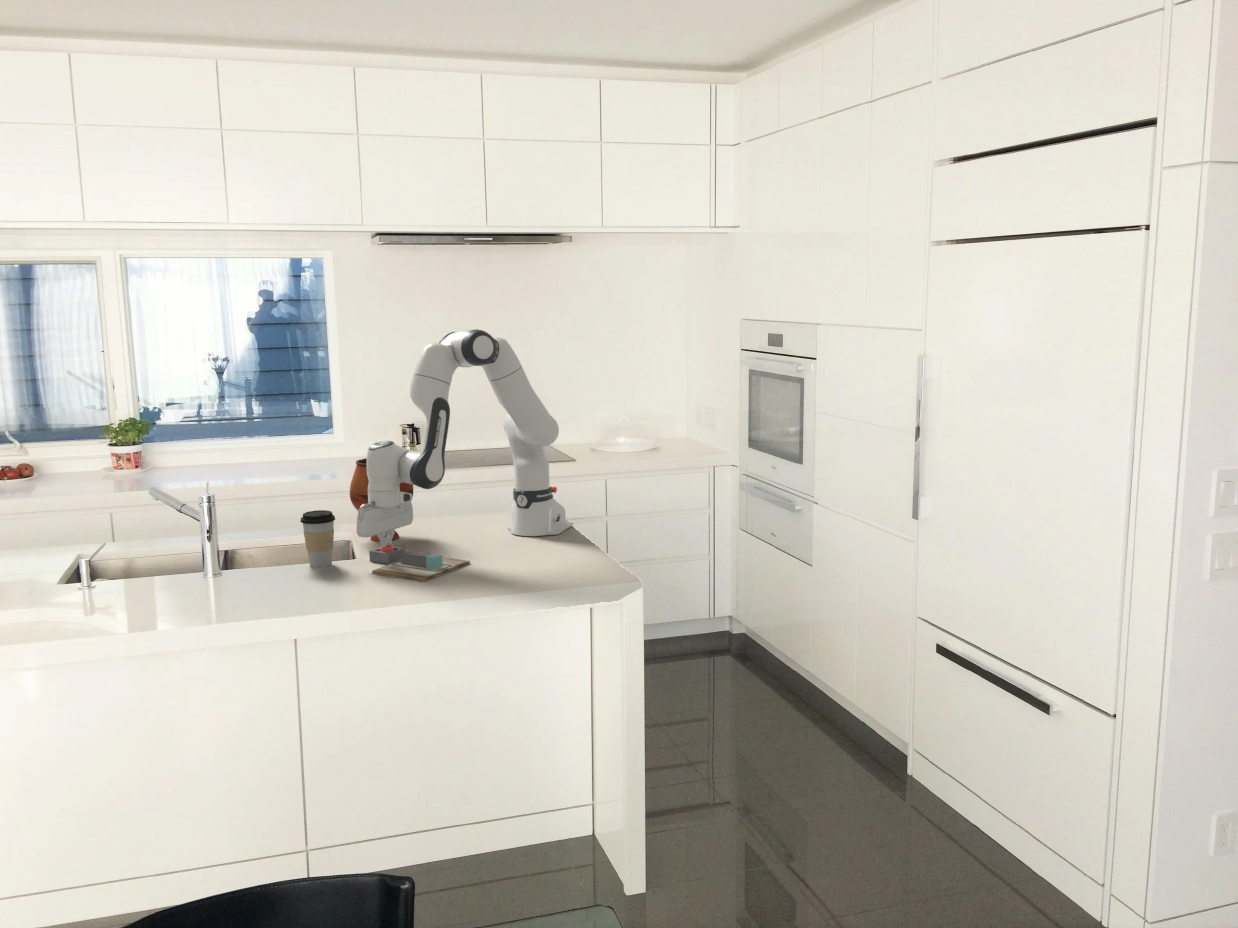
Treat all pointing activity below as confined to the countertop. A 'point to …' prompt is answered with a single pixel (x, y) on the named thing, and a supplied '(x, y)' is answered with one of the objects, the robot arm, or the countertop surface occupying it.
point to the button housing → (386, 555)
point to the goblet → (361, 490)
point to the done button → (387, 548)
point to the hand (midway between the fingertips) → (386, 546)
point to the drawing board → (420, 570)
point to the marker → (421, 559)
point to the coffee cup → (319, 537)
